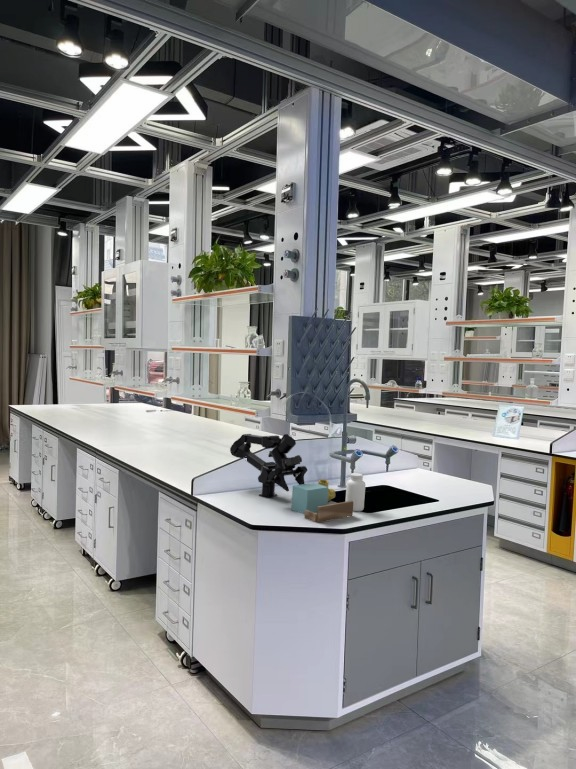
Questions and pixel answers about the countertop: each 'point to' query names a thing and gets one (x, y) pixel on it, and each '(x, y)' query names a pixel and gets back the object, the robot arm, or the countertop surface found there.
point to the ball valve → (330, 491)
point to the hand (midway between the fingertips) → (296, 489)
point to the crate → (309, 497)
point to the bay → (330, 512)
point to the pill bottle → (356, 491)
